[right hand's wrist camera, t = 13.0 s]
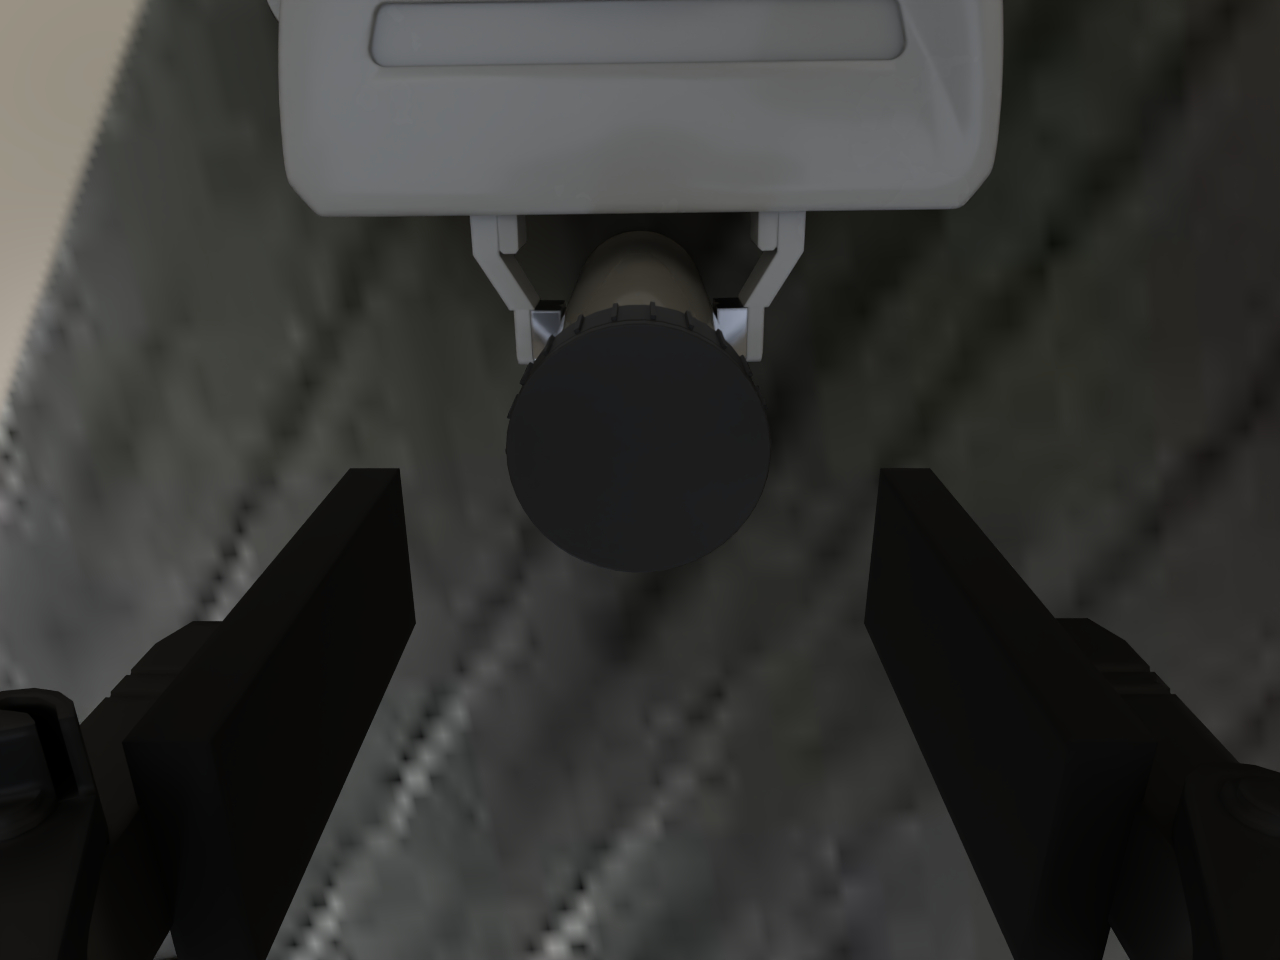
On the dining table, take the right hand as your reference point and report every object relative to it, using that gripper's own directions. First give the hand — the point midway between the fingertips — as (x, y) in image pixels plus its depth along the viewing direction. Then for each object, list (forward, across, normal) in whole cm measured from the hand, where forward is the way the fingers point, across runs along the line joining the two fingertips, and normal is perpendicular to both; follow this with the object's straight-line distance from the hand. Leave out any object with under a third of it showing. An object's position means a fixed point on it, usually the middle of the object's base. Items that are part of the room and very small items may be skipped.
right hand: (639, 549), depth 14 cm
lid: (+5, 0, 0) cm, 5 cm away
